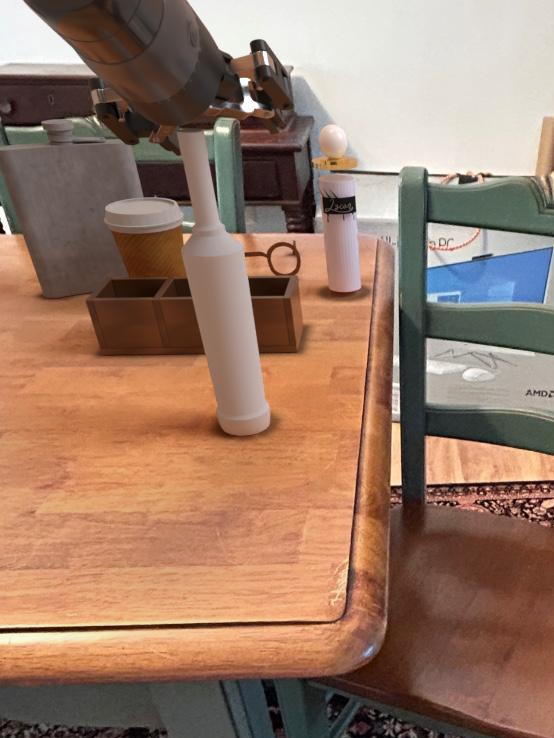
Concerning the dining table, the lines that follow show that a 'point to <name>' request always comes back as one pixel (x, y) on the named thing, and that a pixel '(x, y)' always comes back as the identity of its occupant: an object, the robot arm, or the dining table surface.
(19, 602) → the dining table surface
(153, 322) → the rack
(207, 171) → the bottle
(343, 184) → the perfume bottle
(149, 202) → the disposable coffee cup
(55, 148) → the hip flask
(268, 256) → the glasses
